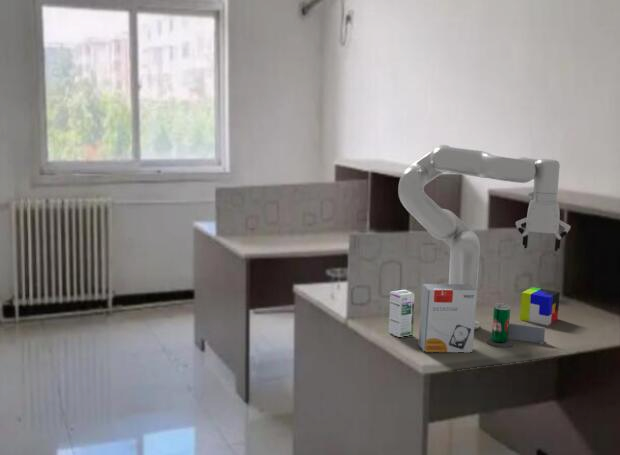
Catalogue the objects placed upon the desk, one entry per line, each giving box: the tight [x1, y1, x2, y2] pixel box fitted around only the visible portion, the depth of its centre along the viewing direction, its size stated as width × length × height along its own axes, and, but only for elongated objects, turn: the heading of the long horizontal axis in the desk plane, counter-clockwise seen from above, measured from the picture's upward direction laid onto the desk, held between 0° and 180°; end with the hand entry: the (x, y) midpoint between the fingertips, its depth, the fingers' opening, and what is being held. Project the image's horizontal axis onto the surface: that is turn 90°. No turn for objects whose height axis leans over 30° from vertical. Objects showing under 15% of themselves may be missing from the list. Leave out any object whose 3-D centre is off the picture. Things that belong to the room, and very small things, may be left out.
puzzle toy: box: [519, 286, 561, 326], centre depth 268 cm, size 10×10×10 cm
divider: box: [508, 322, 546, 345], centre depth 245 cm, size 16×4×5 cm, turn 68°
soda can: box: [490, 302, 511, 343], centre depth 240 cm, size 5×5×12 cm
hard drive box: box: [418, 283, 478, 353], centre depth 233 cm, size 16×8×20 cm, turn 96°
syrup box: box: [388, 289, 415, 337], centre depth 246 cm, size 6×6×14 cm
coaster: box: [486, 337, 514, 348], centre depth 241 cm, size 8×8×1 cm
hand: (540, 249), depth 249 cm, fingers open, 9 cm apart
